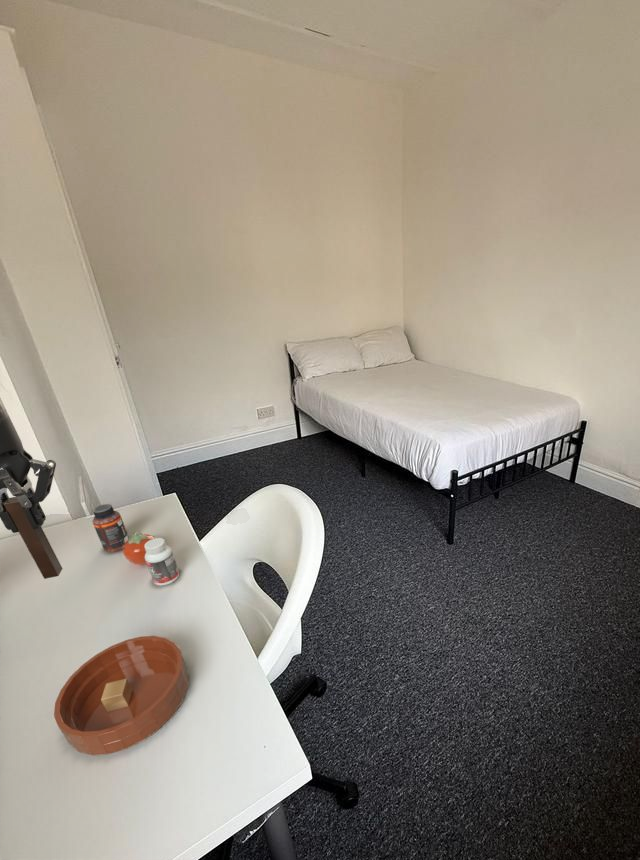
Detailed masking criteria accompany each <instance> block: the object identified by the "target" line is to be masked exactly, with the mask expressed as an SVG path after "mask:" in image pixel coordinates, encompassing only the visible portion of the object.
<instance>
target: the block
mask: <svg viewBox="0 0 640 860" xmlns="http://www.w3.org/2000/svg"><path fill="white" fill-rule="evenodd" d="M131 694H132V688H131V686H130V684H129V682H128V680H127V678H126V679H122V680H118V681H115V682H111V683H107V684H106V686H105V689H104V692H103V695H102V698H101V701H102V703H103V705H104V707H105V709H106V710H107V712H110V711H113V710H117V709H121V708H124V707H128V706H129V702H130V698H131Z"/></svg>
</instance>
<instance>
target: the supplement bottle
mask: <svg viewBox="0 0 640 860" xmlns="http://www.w3.org/2000/svg"><path fill="white" fill-rule="evenodd" d="M92 511H93V518H92V521H91V522H92V525H93V527H94V530H95V533H96V535H97V537H98V540H99V542H100V544H101V546H102V548H103V550H104V551H105V552H108V553H113V552H114V553H115V552H118V551H122V550H123V545H124V544H125V543H126V541H127V540H129V539H130V536H129V533H128V531H127V529H126V526H125V523H124V521H123V518H122V515H121V514H120V512H119V511H117V510H115V509H114V507H113V505H112V504H110V503H104V504H100V505H98V506H96V507H94V509H92Z"/></svg>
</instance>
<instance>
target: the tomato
mask: <svg viewBox="0 0 640 860" xmlns="http://www.w3.org/2000/svg"><path fill="white" fill-rule="evenodd" d="M155 538H156V537H155V536H154V535H151V534H147V533H143V532H140V533H139V532H133V535H131V536H129V540H127V541H126V543H125V544H124V545H123V549H121V551H122V554H123V556H124V558H125V559H126V560H127V561H128V562H130V563H132V564H133V565H136V566H145V565H147V563H146V561H145V554H146V551H145V547H144V545H145V544H146V542H148V541H149V540H152V539H155Z"/></svg>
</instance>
